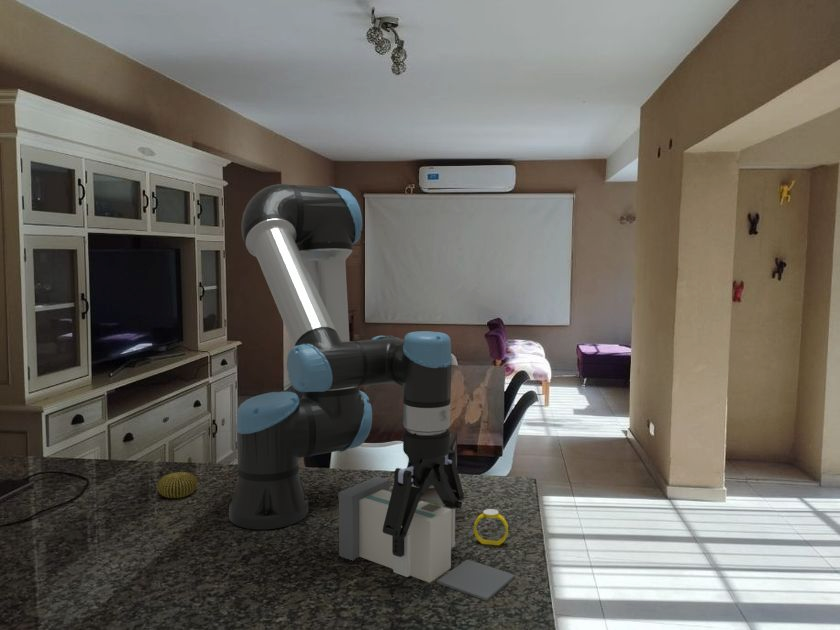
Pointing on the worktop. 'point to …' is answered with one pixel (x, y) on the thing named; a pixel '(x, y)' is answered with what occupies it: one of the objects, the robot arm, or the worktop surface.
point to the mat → (476, 579)
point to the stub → (430, 541)
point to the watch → (491, 514)
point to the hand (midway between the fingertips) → (425, 558)
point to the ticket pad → (365, 522)
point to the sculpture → (177, 485)
